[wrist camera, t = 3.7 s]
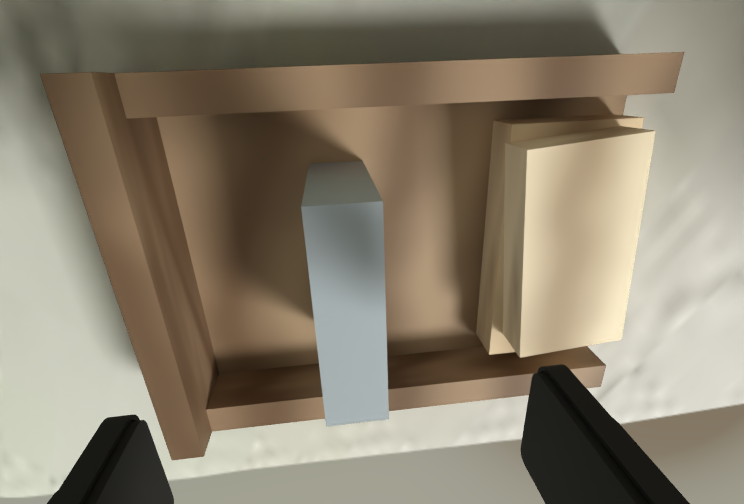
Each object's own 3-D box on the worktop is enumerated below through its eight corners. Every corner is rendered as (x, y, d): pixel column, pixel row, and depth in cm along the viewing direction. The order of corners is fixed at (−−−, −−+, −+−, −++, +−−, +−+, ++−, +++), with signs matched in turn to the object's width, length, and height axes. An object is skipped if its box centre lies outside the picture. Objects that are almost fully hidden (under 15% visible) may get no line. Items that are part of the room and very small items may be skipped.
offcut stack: (613, 114, 19) (682, 121, 15) (572, 323, 24) (617, 367, 20) (488, 120, 18) (529, 129, 15) (472, 333, 23) (500, 380, 20)
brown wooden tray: (622, 57, 19) (718, 49, 14) (566, 348, 26) (618, 406, 21) (117, 76, 17) (39, 74, 12) (201, 387, 24) (171, 460, 19)
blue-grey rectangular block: (362, 160, 18) (383, 201, 12) (370, 322, 22) (389, 419, 16) (309, 163, 18) (301, 206, 12) (325, 326, 22) (326, 426, 15)
